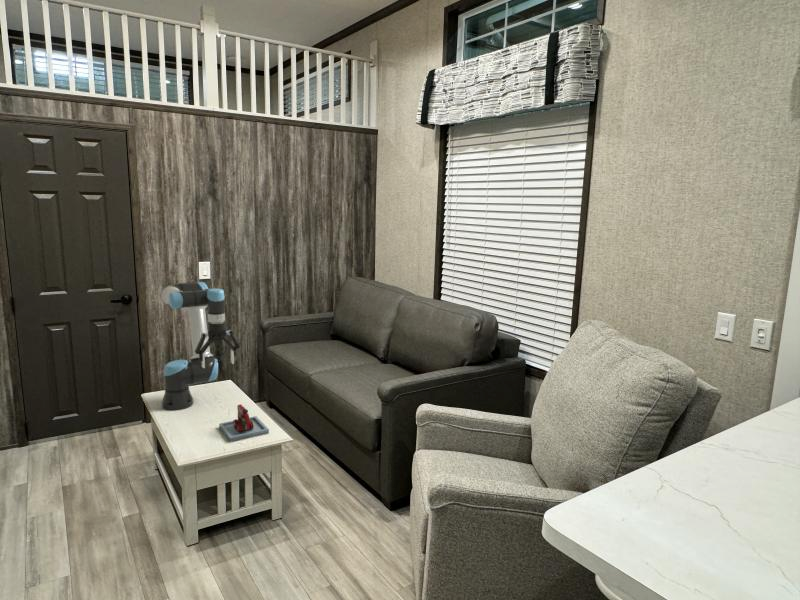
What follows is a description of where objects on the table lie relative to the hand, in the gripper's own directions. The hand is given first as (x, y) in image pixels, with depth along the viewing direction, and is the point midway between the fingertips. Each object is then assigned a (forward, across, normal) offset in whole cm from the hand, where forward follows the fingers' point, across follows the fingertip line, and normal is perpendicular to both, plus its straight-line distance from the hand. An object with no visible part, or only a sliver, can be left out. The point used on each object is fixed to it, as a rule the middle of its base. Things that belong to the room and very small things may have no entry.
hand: (218, 365), depth 255 cm
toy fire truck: (+29, +7, -14) cm, 33 cm away
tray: (+29, +7, -14) cm, 33 cm away
